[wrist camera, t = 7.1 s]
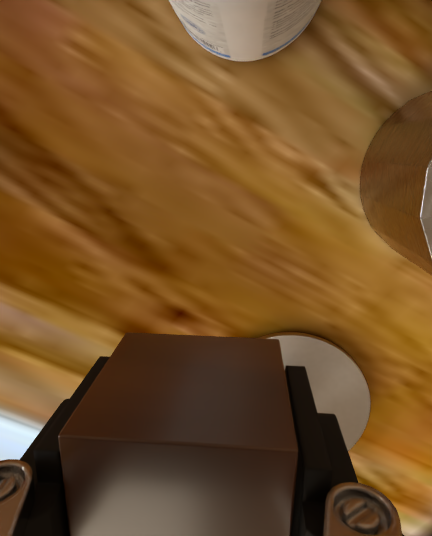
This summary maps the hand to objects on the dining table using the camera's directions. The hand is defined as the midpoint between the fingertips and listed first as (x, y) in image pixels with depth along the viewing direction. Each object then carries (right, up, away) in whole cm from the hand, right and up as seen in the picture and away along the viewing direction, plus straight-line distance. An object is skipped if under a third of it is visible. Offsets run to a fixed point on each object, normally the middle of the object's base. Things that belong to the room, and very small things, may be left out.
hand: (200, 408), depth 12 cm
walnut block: (0, 0, 0) cm, 0 cm away
